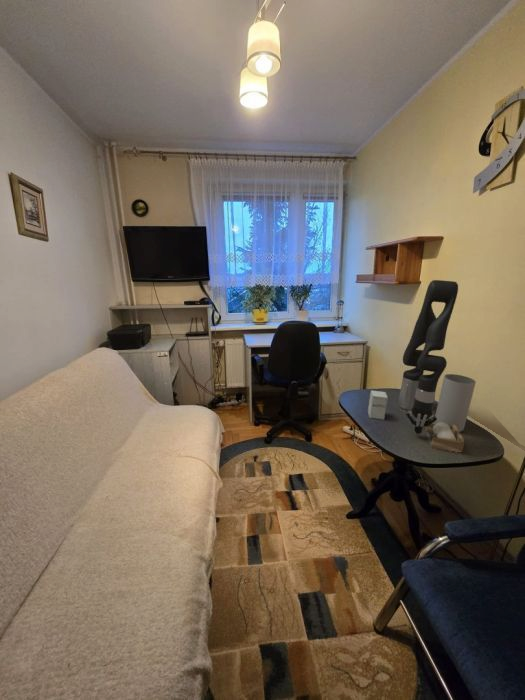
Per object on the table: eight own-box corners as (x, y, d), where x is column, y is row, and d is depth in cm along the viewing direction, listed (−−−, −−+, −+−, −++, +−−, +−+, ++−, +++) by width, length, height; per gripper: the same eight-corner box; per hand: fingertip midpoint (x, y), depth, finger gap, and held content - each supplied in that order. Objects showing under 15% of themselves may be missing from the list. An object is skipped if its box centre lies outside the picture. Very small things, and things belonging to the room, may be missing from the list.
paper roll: (452, 433, 130) (436, 437, 133) (446, 420, 130) (430, 425, 133) (459, 446, 121) (441, 450, 124) (452, 432, 121) (434, 436, 123)
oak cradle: (425, 430, 136) (427, 418, 134) (452, 435, 133) (455, 423, 131) (431, 447, 123) (434, 434, 121) (461, 453, 120) (465, 439, 118)
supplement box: (369, 418, 147) (372, 395, 143) (367, 411, 154) (370, 389, 150) (384, 420, 145) (388, 397, 141) (382, 413, 152) (385, 391, 148)
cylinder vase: (450, 418, 148) (460, 373, 141) (470, 431, 136) (482, 383, 129) (428, 419, 146) (438, 374, 140) (446, 433, 135) (458, 384, 128)
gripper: (439, 397, 127) (431, 431, 132) (406, 392, 131) (400, 426, 136) (443, 404, 120) (435, 440, 125) (409, 399, 124) (402, 434, 129)
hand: (417, 432), depth 131 cm, fingers closed
